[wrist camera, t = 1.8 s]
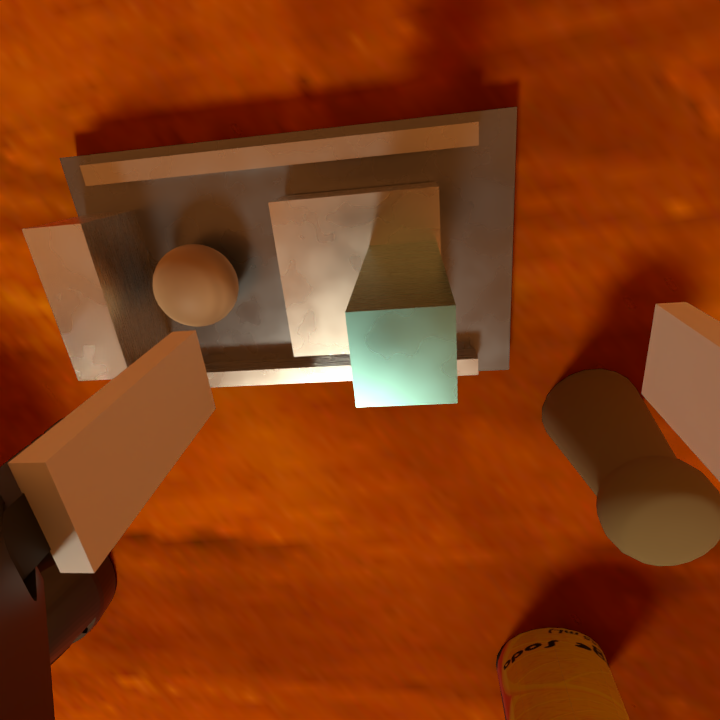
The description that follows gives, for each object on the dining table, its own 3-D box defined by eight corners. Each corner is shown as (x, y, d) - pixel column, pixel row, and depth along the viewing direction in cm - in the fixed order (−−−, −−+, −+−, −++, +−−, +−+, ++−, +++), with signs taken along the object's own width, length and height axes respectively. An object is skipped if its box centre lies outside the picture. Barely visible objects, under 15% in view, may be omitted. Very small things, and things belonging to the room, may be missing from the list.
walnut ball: (185, 313, 29) (149, 341, 25) (166, 240, 27) (125, 257, 23) (255, 309, 29) (230, 336, 25) (240, 233, 27) (211, 250, 23)
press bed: (145, 377, 33) (88, 428, 27) (76, 157, 27) (-15, 161, 21) (504, 359, 30) (527, 412, 24) (510, 108, 24) (544, 98, 19)
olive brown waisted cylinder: (550, 366, 30) (621, 477, 20) (651, 371, 30) (775, 487, 20) (534, 447, 33) (590, 581, 23) (627, 452, 32) (726, 592, 22)
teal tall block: (304, 336, 29) (233, 472, 17) (283, 196, 25) (176, 242, 14) (440, 328, 28) (464, 466, 16) (435, 181, 24) (462, 217, 13)
